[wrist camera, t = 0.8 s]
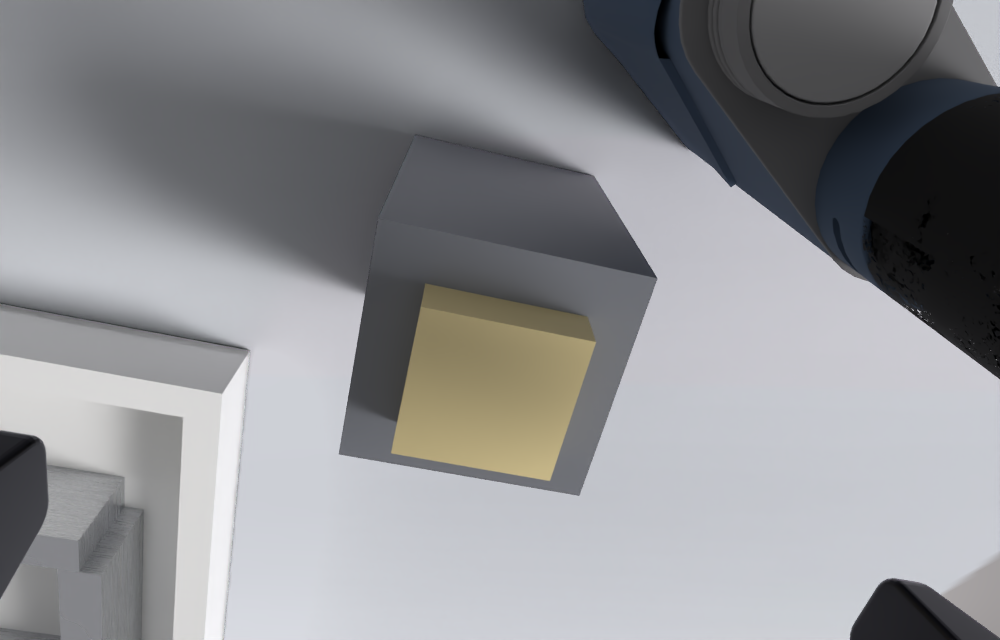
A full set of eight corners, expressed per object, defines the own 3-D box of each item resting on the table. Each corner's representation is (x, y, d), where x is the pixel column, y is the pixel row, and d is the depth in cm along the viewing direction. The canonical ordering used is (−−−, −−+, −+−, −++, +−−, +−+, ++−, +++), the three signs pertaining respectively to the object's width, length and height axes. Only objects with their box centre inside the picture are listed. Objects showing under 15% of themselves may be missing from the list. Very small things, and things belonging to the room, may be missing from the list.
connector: (547, 333, 17) (586, 529, 11) (385, 301, 16) (328, 487, 10) (594, 176, 15) (671, 301, 9) (415, 134, 15) (369, 237, 9)
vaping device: (704, 181, 15) (1250, 648, 4) (551, -14, 13) (847, -28, 3) (804, 100, 15) (1746, 421, 4) (657, -117, 13) (1643, -706, 2)
